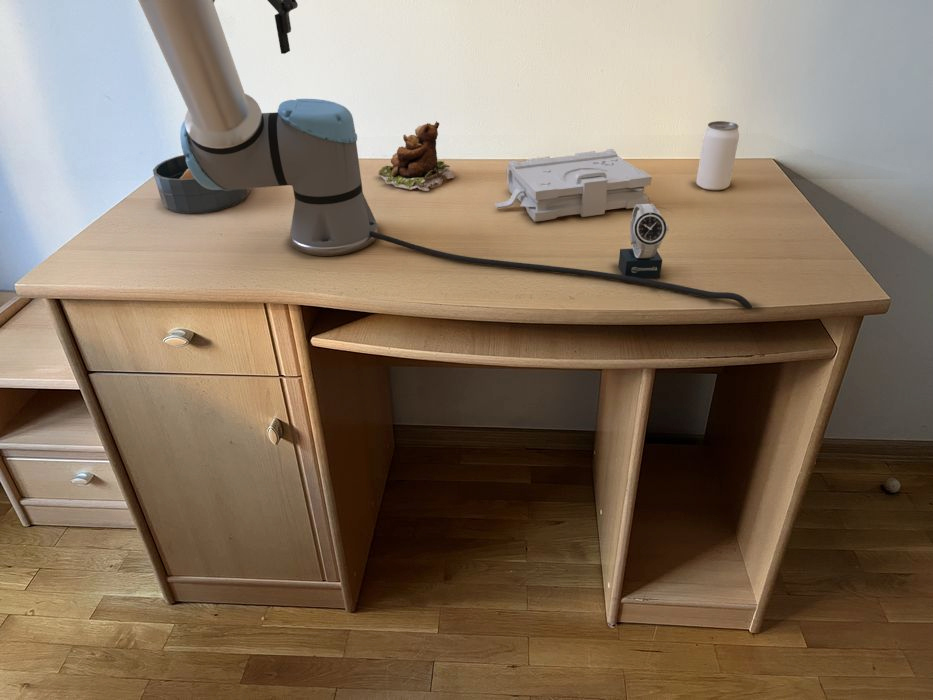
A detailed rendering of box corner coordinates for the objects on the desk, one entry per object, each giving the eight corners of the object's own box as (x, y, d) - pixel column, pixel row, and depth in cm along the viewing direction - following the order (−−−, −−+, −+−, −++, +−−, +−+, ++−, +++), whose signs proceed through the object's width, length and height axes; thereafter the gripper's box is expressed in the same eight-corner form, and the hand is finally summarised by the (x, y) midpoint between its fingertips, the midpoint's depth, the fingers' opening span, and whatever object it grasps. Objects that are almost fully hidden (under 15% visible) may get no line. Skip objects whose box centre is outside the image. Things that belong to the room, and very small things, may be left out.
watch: (627, 285, 103) (635, 218, 97) (615, 261, 110) (622, 197, 104) (663, 283, 103) (674, 216, 97) (649, 260, 110) (658, 195, 104)
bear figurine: (414, 163, 153) (409, 108, 146) (463, 176, 145) (462, 119, 138) (369, 180, 144) (362, 122, 138) (419, 196, 136) (415, 135, 129)
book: (481, 192, 137) (480, 155, 132) (608, 176, 142) (612, 140, 138) (510, 229, 121) (510, 189, 117) (652, 210, 127) (657, 170, 122)
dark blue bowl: (265, 197, 138) (258, 163, 134) (183, 221, 129) (173, 186, 125) (227, 177, 149) (220, 145, 145) (150, 198, 140) (140, 165, 136)
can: (731, 191, 133) (743, 130, 126) (697, 190, 134) (708, 129, 127) (726, 180, 138) (737, 120, 132) (693, 179, 139) (703, 120, 132)
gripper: (302, -84, 117) (321, 48, 128) (168, -80, 120) (198, 48, 132) (287, -83, 110) (308, 56, 122) (146, -78, 114) (180, 56, 126)
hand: (251, 52), depth 127 cm, fingers open, 13 cm apart
